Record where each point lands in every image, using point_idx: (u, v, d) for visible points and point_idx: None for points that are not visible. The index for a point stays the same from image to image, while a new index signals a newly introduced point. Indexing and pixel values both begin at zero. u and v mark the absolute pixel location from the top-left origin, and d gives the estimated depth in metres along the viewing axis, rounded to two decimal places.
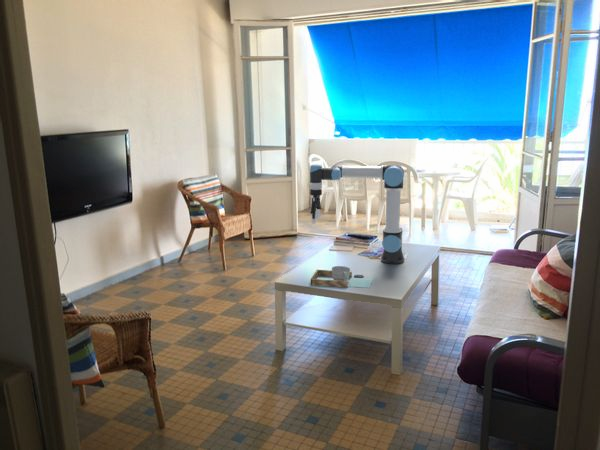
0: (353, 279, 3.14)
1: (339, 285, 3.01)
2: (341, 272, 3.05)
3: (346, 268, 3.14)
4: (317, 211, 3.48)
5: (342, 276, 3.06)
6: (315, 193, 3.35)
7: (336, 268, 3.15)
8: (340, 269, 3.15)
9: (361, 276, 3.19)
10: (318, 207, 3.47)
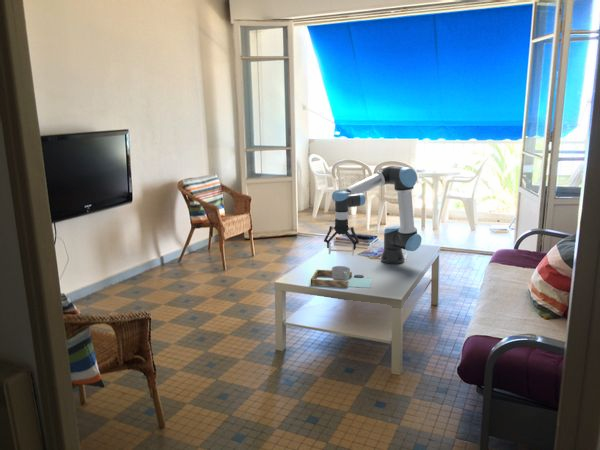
0: (353, 279, 3.14)
1: (339, 285, 3.01)
2: (341, 272, 3.05)
3: (346, 268, 3.14)
4: (352, 246, 3.04)
5: (342, 276, 3.06)
6: (335, 222, 3.03)
7: (336, 268, 3.15)
8: (340, 269, 3.15)
9: (361, 276, 3.19)
10: None
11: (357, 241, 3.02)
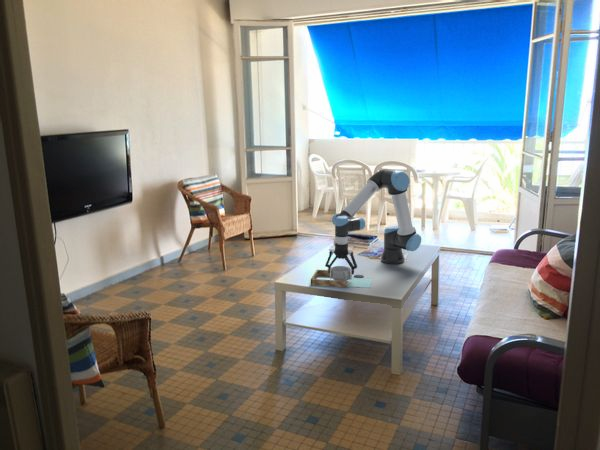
0: (353, 279, 3.14)
1: (339, 285, 3.01)
2: (341, 272, 3.05)
3: (346, 268, 3.14)
4: None
5: (342, 276, 3.06)
6: None
7: (336, 268, 3.15)
8: (340, 269, 3.15)
9: (361, 276, 3.19)
10: None
11: (355, 266, 3.05)
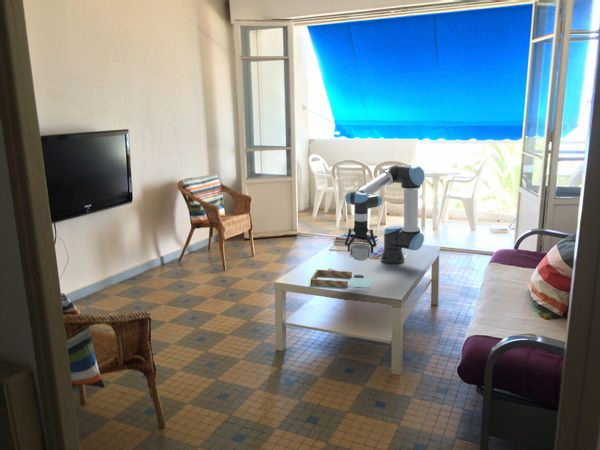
0: (353, 279, 3.14)
1: (339, 285, 3.01)
2: (361, 250, 3.00)
3: (366, 246, 3.08)
4: None
5: (362, 254, 3.00)
6: None
7: (355, 247, 3.09)
8: (359, 248, 3.10)
9: (361, 276, 3.19)
10: None
11: (375, 244, 2.99)
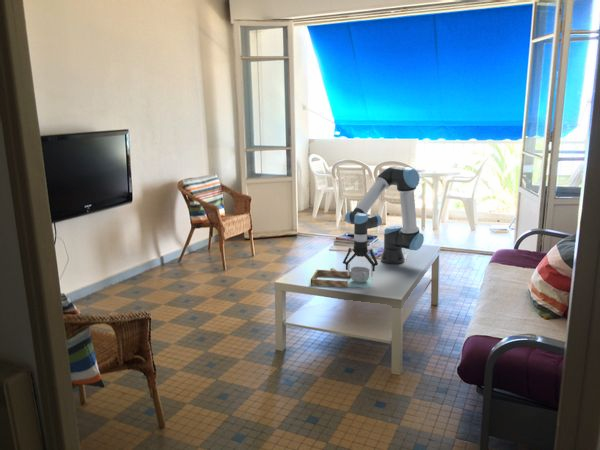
0: None
1: (339, 285, 3.01)
2: (361, 273, 3.03)
3: (365, 269, 3.11)
4: (371, 267, 3.05)
5: (362, 277, 3.03)
6: (354, 244, 3.03)
7: (355, 269, 3.12)
8: (359, 270, 3.13)
9: None
10: None
11: (376, 263, 3.02)
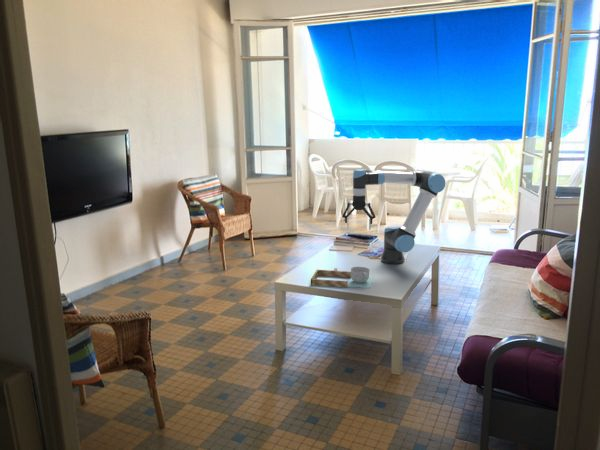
0: None
1: (339, 285, 3.01)
2: (361, 273, 3.03)
3: (365, 269, 3.11)
4: (369, 220, 3.23)
5: (362, 277, 3.03)
6: None
7: (355, 269, 3.12)
8: (359, 270, 3.13)
9: None
10: None
11: (374, 216, 3.20)
